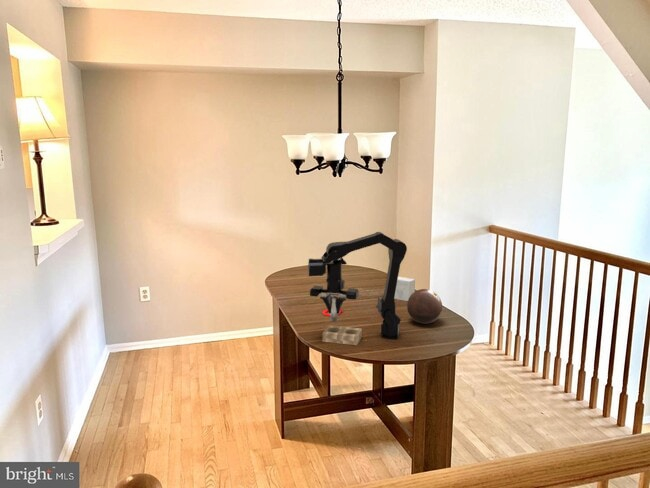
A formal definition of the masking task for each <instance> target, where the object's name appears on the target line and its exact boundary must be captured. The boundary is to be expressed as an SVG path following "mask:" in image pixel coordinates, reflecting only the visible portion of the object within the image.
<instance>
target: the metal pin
mask: <svg viewBox="0 0 650 488" xmlns="http://www.w3.org/2000/svg"><path fill="white" fill-rule="evenodd" d="M338 298H339V295H331V296H330V304H331V313H330V314H331V317H330V322H334V323H335V322H338V321H339V315H338V313H337V306H338Z"/></svg>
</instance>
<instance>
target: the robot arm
mask: <svg viewBox="0 0 650 488" xmlns="http://www.w3.org/2000/svg"><path fill="white" fill-rule="evenodd" d="M378 244H380V245H382V246H384V247H386V248H387V254H388V259H389V261H388V267H387V272H386V273H387V274H386V280H385V285H384V291H383V295H382V296H381V298H379V297H377V305H376V306H375V307H376V309H377V312H378V314H379V315H380V316H381V318H382V320H383V321H382V323H381V325H380V326H381V327H380V334H381V338H386V339H394V340H395V339H398V338H399V336H400V331H399V328H400V324H401V320H402V318H400V317H399V315H398V314H397V313H396V303H395V302H396V301H395V300H396V299H394V297H395V291H396V285H397V280H398V277H399V273H400V267H401V264H402V262H403V260H404V259H405V256H406V254H407V251H408V247H407V245H406V243H405V242H403V241H401V240H400V239H398V238H394V239H393V238H392V237H389V236H387V235H386V234H384V233H383V232H382V231H375V232H374V233H372V234H368V235H364V236H362V237H357V238H355V239H352V240H348V241H346V240H345V241H335V242H330V243H328V245H327V246H326V248H325V252H324V254H323V255H322V256H321V257H320V258H308V263H307V275H308V277H322V276H324V275H325V274H326V280H325V281H326V288H324V286H322V285H321V286H320V285H314V286H312V288H311V289H310V290H309V296H310V297H318V296H319V295H320V299H321V300H323V303H324V304H325V307H326V309H328V311H329V312H328V314H331V304H330V296H332V295H337V296H338V306H337V313H338V314H339V312H340V309H341V308H342V305H343V303H344V302H345V301H346V300H347V299H348V300H357V298H358V297H359V295H360V293H359V292H360V291H359V290H358V288H353V287H352V288H348V289H347V290H343V289H345V280H343V276H342V273H343V271H342V270H343V269H342V265H347V264H348V263H347V261H346V260H344V257H345V256H347V255H348V254H350V253H352V252H355V251H359V250H362V249H365V248H368V247H372V246H375V245H378Z"/></svg>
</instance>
